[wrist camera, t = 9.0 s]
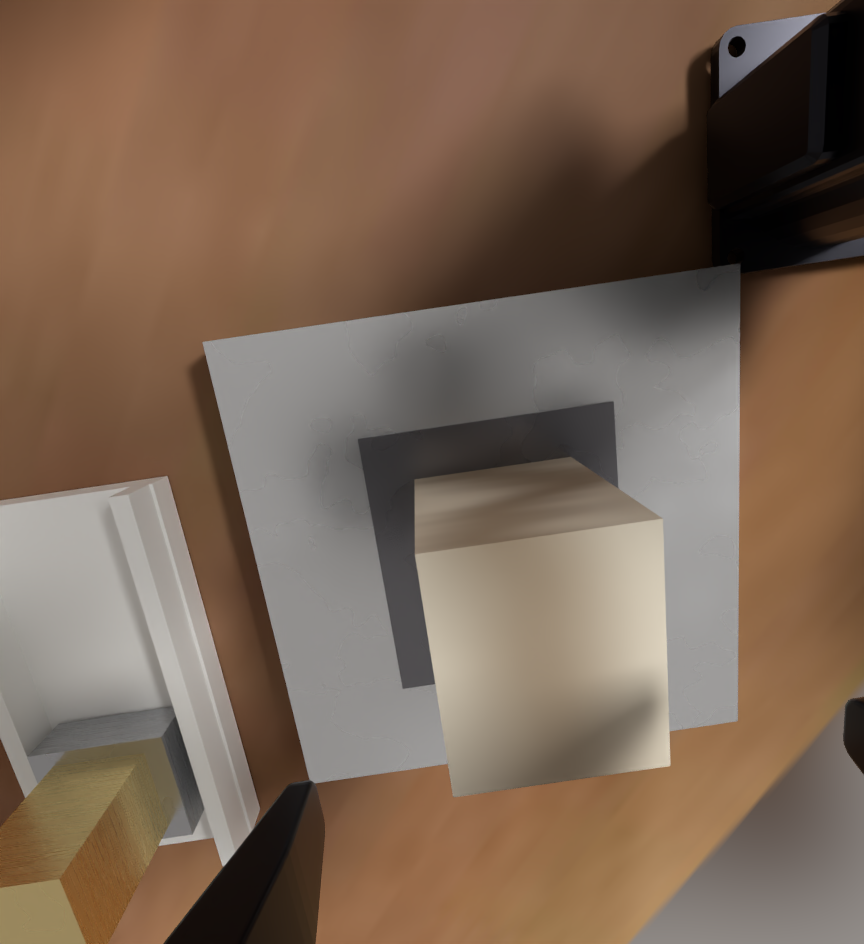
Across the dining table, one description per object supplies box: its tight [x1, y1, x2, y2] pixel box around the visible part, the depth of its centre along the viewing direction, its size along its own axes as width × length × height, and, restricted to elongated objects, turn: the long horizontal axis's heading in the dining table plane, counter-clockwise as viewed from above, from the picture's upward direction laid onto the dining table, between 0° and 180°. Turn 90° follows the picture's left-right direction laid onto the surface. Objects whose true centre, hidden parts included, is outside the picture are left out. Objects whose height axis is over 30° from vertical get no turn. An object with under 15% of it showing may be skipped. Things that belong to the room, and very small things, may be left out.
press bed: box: [203, 263, 740, 783], centre depth 17 cm, size 16×16×1 cm
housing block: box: [415, 457, 670, 797], centre depth 14 cm, size 5×6×6 cm
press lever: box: [0, 707, 205, 944], centre depth 15 cm, size 4×4×6 cm
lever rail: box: [0, 476, 260, 866], centre depth 17 cm, size 7×14×2 cm, turn 8°
